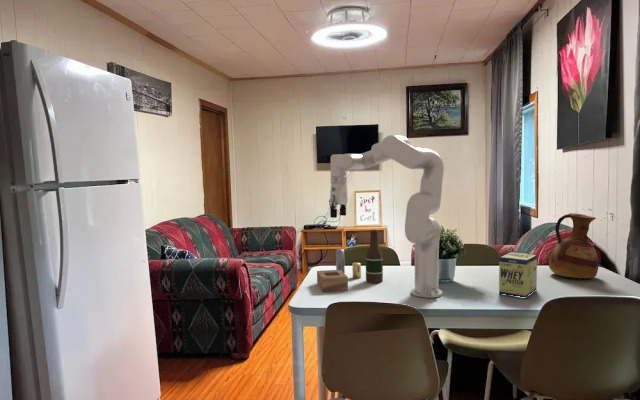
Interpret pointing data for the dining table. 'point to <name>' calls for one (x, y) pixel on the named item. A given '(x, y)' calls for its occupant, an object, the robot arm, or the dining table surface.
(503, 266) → the protein box
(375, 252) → the beer bottle
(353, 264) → the short brass pin
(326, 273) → the walnut hole block
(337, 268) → the long steel pin
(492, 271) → the dining table surface
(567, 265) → the ceramic pitcher
